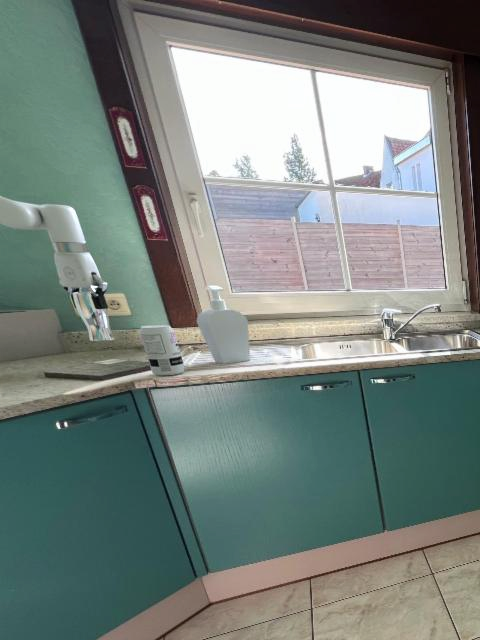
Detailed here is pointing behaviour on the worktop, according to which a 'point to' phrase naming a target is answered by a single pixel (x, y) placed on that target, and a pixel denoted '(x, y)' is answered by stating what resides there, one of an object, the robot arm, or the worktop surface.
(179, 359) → the supplement can
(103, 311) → the beer glass
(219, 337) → the soap bottle
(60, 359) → the worktop surface
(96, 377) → the grid board
